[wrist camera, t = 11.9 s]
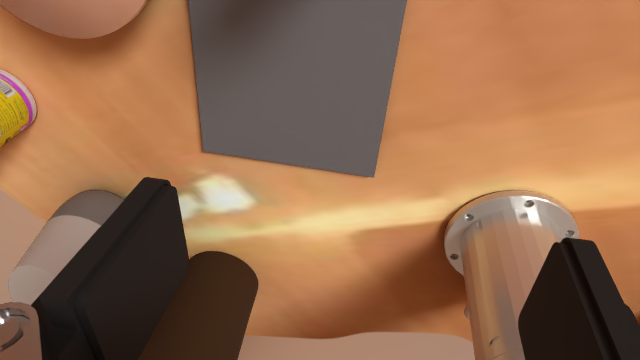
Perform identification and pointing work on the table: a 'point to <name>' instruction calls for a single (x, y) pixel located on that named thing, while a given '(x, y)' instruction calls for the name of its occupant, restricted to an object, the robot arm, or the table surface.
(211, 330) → the olive oil
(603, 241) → the table surface
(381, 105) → the mat
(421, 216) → the table surface
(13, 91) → the supplement bottle
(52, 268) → the smart speaker
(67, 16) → the lid
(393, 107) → the table surface
